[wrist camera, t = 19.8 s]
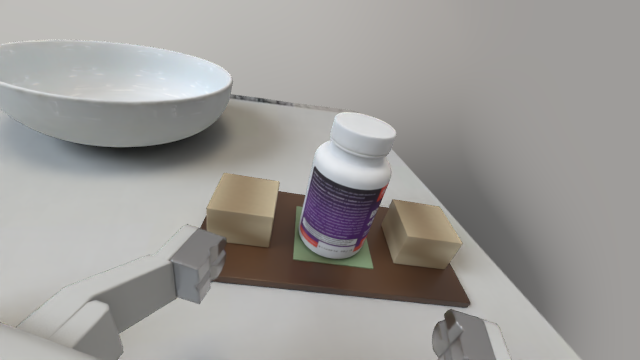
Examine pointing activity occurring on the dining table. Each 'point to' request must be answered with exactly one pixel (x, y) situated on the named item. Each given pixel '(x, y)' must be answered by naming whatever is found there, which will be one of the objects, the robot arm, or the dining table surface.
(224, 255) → the robot arm
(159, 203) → the dining table surface
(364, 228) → the pill bottle
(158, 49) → the serving bowl
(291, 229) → the word board
